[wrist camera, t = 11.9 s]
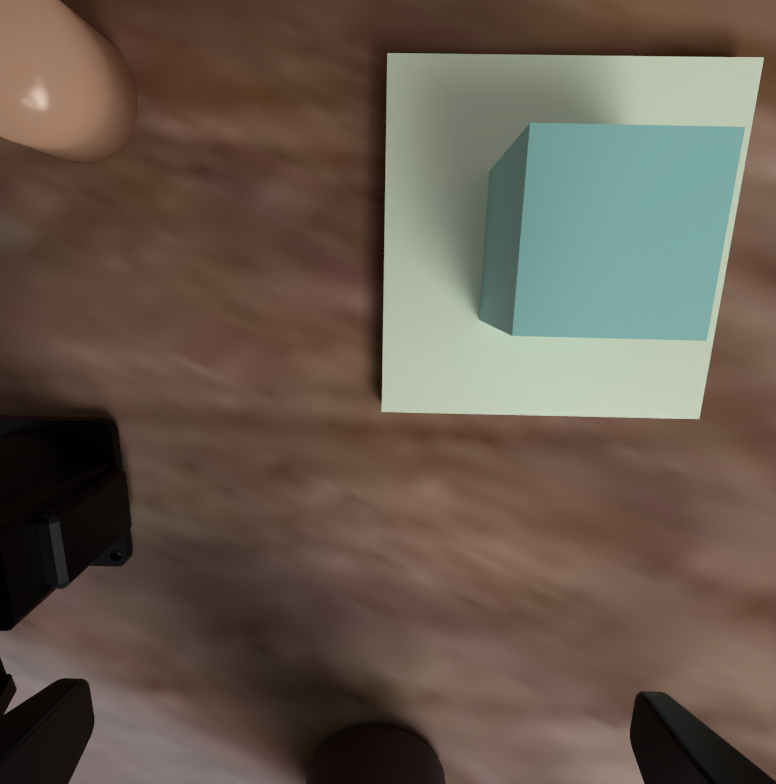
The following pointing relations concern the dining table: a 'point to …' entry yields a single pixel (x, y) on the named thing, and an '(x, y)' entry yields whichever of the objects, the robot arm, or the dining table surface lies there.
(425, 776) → the dark water bottle
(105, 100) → the terracotta cylinder
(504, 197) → the teal block
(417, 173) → the sage pad
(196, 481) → the dining table surface
